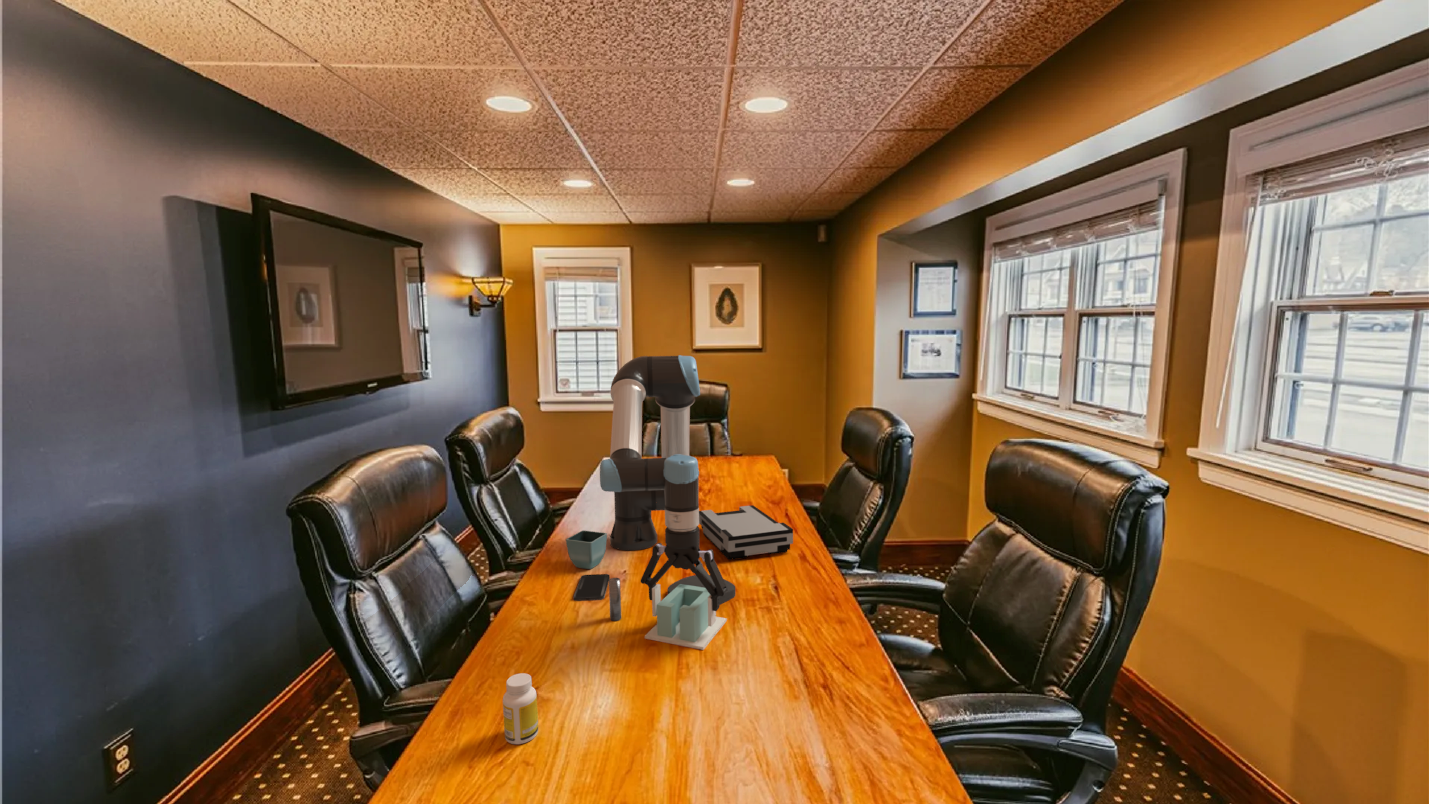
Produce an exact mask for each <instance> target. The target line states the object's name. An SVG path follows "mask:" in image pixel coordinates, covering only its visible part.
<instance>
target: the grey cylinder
mask: <svg viewBox="0 0 1429 804" xmlns="http://www.w3.org/2000/svg"><path fill="white" fill-rule="evenodd" d="M608 589H609V590H608V591H609V593H608V595H609V619H610V621H612V622H617V621H620V620H621V619H622V603H621V602H622V601H621V600H622V599H621V598H622V597H621V595H622V594H621V578H619V577H611V578H610V579H609V582H608Z"/></svg>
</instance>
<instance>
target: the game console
mask: <svg viewBox="0 0 1429 804" xmlns="http://www.w3.org/2000/svg"><path fill="white" fill-rule="evenodd" d="M699 525H700V527H701V528H700V529H702V533H703V535H704V537H706V538H707V540H709V541H710V543H712V545H713V546H715V548H716V549H717V550H718V551H719V552H720V553H721V554H722V555H723V556H724V557H725V558H726V559H727V560H728V561H731V560H732V561H733V560H740V559H746V558H748V556H753V555H760V554H768V555H774V554H775V555H776V554H783V553H788V551H790V550H791V545H792V544H794V528H792V527H790V526H789V525H788V524H786V523H785V522H778V521H777V520H775V519H774V518H772V517H771V516H770V515H768V514H766V513H765V512H763V511H762V510H760V509H759V508H758V507H756V506H755V505H754V504H753V505H743V506H739V510H730V511H722V512H721V511H720V512H715V511H713V510H712V509H705V510H699Z"/></svg>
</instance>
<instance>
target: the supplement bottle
mask: <svg viewBox="0 0 1429 804" xmlns="http://www.w3.org/2000/svg"><path fill="white" fill-rule="evenodd" d="M532 682H533V681H532V676H531V675H530V674H528V673H524V672H522V673H515V674H513V675H511V676H510V677H509V678H508V679H507V680H506V683H505V684H506V685H505V687H506V692H505V693H504V694H503V698H502V709H503V710H502V711H503V713H502V714H503V728H504V729H503V730H504V738H505V741H506V742H508V743H509V744H512V745H521V744H525V743H528V742H530V741H532V740H533V739H535V737H536V736H537V735H538V733H539V716H538V715H539V714H538V698H537V697H538V696H537V691H536V689H535V688H534V687H533V686H532V685H533V683H532Z"/></svg>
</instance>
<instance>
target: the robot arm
mask: <svg viewBox="0 0 1429 804" xmlns="http://www.w3.org/2000/svg"><path fill="white" fill-rule="evenodd" d="M698 373H699V372H698V367H697V360H696V359H695V357H693V356H691V355H680V354H678V355H657V356H656V355H652V356H651V355H649V356H648V355H643V356H638V357H636V358H635V357H634V358H632V359H631V360H629V361H627V362H626V363H624V364H623V366H622V367H620V368H619V370H618V371H617V372H616V374H615V375H614V377H613V379H612V381H611V384H610V385H611V386H610V398H611V399H612V401H613V405H612V406H613V408H612V420H611V421H612V422H611V438H610V451H609V452H610V453H609V458H607V459H602V460H601V462H600V464H599V485H600V489H601V490H602V491H604V492H607V493H609V492H610V493H611V492H612V493H613V494H614V499H613V500H614V523H613V527H612V530H611V532H610V536H609V544H610V546H611V547H612V548H614V549H616V550H621V551H640V550H645V549H648V548H652V553H651V557H650V559H649V561H648V563H647V565H646V567H645V570H644V572H643V574H642V576H641V578H640V583H641V584H643V585H647V587H648V599H649V601H651V602H652V603H651V604H652V605H651V606H652V607H651V608H652V617H656V618H657V604H658V603H659V602H661V601H662V597H661V584H660V583H658V582H659V581H660V580H661V579H662V577H663V576H664V575H665V574H666V573H667V572H668V570H670V569H671V567H672V566H673V567H674V569H683V570H686V571H687V570H690V572H692V574H695V575H696V576H697V577H698V579H699V580H700V581H701V583H702V584H703V585H704V587H705V588H706V590H707V591H708V592H709V594H710V596H709V597H708V626H712V625H713V624H714V623H715V622H716V617H717V611H718V610H719V609H720V605H721V604H720V601H719V596H723V595H724V594H725V593H726V592H727V591H728V588H727V586H726V584H725V582H724V577H723V575H722V573H721V571H720V569H719V566H718V564H717V562H716V561H715V556H714V550H713V549H707V550H701V548H700V527H699V525H700V524H699V511H700V506H699V505H700V504H699V490H700V489H699V487H700V486H699V477H700V471H699V461H698V459H697V458H696V457H694V456H691V455H690V429H691V427H690V425H691V424H690V423H691V421H690V420H691V419H690V418H691V417H690V416H691V406H692V405H693V404H694V403H695V402H696V398H697V397H699V396H701V389H700V380H699V374H698ZM646 398H654V399H655V403H656V404H657V405H658V406H659V407H660V433H661V434H660V435H661V436H660V439H661V440H660V441H661V443H660V445H661V446H660V447H661V457H646V458H645V457H644V458H643V457H642V455H643V453H642V451H643V449H642V448H643V446H642V444H643V443H642V442H643V441H642V439H643V436H642V435H643V433H642V431H643V417H642V416H643V401H645V399H646ZM654 511H657V512H658V511H664V525H665V526H666V527H665V529H664V531H665V532H664V537H665V538H664V539H665V542H664V543H665V545H663V543H661V542H658V533H657V531H656V528H655V524H654V522H653V519H652V512H654ZM663 554H664V555H665V556H666V557H667V560H666V561H665V563H664V564H663V565H662V566H661V568H659V570H658V571H657V572H656V573H655V575H654V576H653V573H654V571H655V569H656V567H657V564H658V562H659V560H660V558H661V556H662V555H663ZM700 558H701V559H702V562H704V564H705V565H704V564H703V563H702V562H701V560H700ZM703 565H704V566H706V569H707V571H706V569H705V568H704V566H703ZM709 575H710V576H711V577H710V576H709ZM652 576H653V577H652Z"/></svg>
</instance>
